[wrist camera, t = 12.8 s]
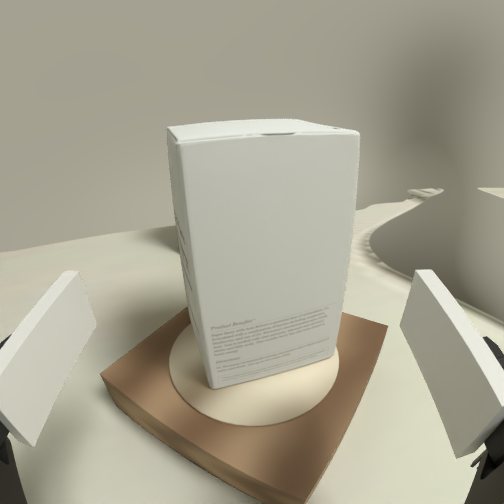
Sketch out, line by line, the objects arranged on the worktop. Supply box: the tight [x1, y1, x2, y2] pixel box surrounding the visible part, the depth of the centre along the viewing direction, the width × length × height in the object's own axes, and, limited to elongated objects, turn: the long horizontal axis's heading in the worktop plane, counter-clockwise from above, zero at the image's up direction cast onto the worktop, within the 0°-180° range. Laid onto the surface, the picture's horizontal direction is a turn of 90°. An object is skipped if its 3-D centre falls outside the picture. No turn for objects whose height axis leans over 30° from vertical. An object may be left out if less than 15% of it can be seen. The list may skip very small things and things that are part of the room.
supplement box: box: [167, 119, 360, 389], centre depth 20 cm, size 9×9×15 cm
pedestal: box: [100, 307, 388, 504], centre depth 23 cm, size 16×16×4 cm
